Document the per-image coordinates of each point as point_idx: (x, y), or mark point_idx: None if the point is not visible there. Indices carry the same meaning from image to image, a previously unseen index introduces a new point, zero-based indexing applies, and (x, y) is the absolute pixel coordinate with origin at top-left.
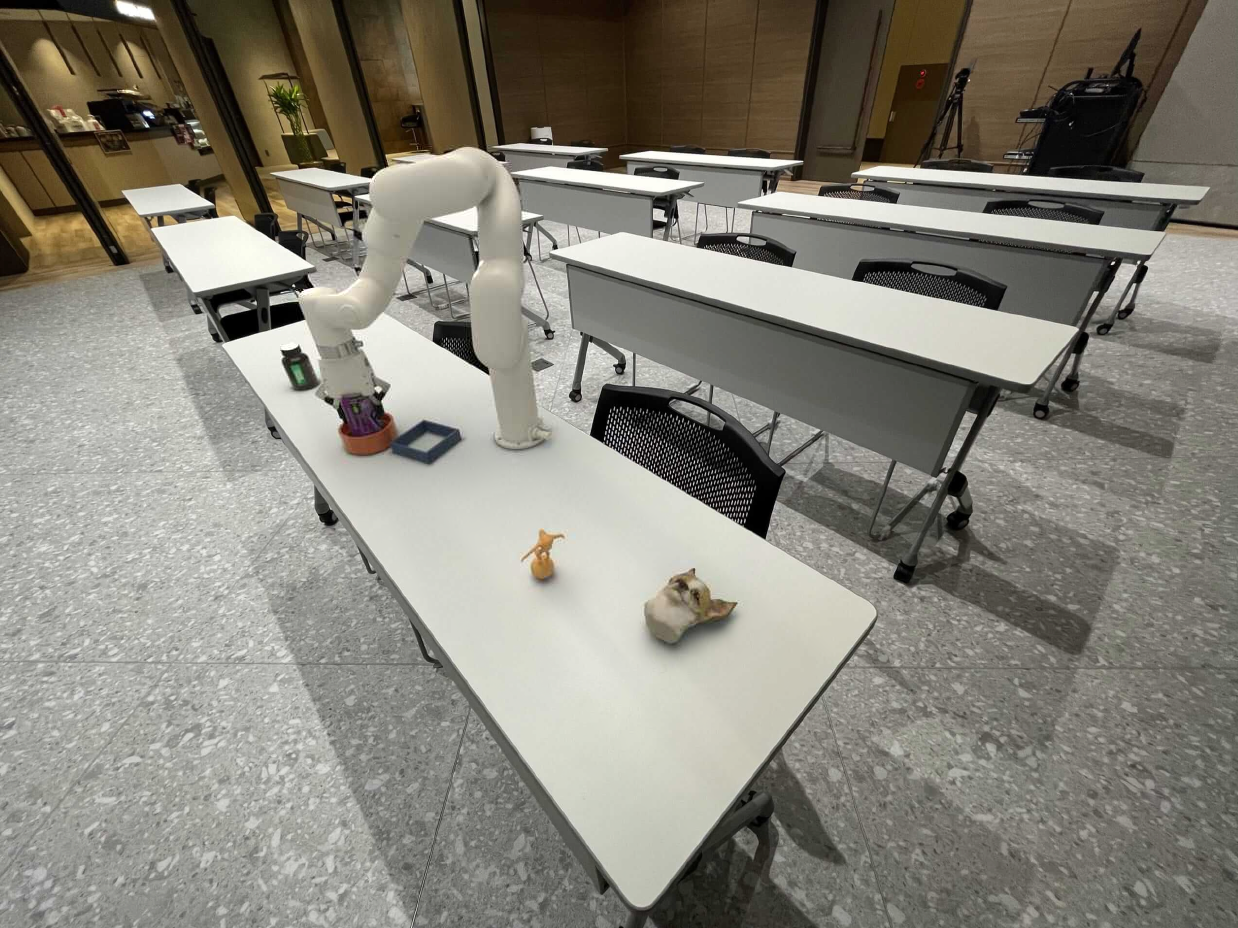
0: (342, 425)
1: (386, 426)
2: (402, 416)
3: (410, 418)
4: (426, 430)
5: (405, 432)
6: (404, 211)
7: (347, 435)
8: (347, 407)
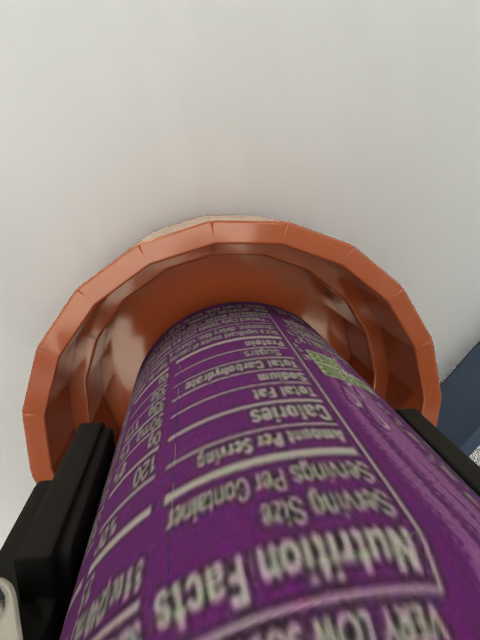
0: (46, 420)
1: (317, 280)
2: (381, 70)
3: (434, 120)
4: None
5: (464, 449)
6: None
7: (90, 405)
8: None
